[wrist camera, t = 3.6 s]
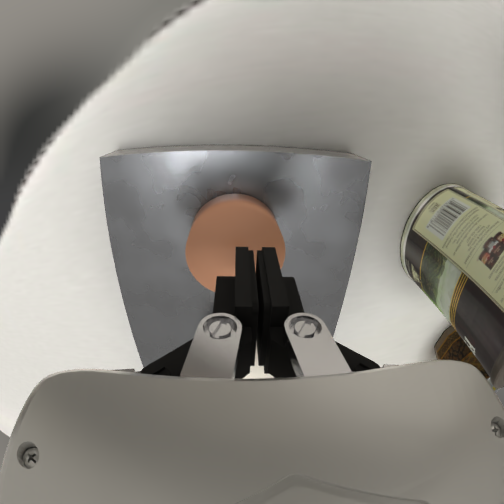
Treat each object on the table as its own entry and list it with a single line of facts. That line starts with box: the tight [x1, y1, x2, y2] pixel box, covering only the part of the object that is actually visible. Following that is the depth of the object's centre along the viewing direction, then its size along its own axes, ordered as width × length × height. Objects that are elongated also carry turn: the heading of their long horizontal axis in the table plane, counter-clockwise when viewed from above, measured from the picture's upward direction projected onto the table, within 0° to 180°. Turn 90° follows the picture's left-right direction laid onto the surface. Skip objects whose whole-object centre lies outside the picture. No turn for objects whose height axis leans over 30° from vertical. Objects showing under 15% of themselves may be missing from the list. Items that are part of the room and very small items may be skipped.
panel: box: [100, 145, 371, 378], centre depth 22 cm, size 16×28×3 cm, turn 178°
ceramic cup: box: [435, 326, 500, 393], centre depth 24 cm, size 13×10×10 cm
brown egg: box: [185, 193, 285, 292], centre depth 17 cm, size 5×5×5 cm
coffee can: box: [401, 184, 504, 389], centre depth 15 cm, size 10×10×14 cm
